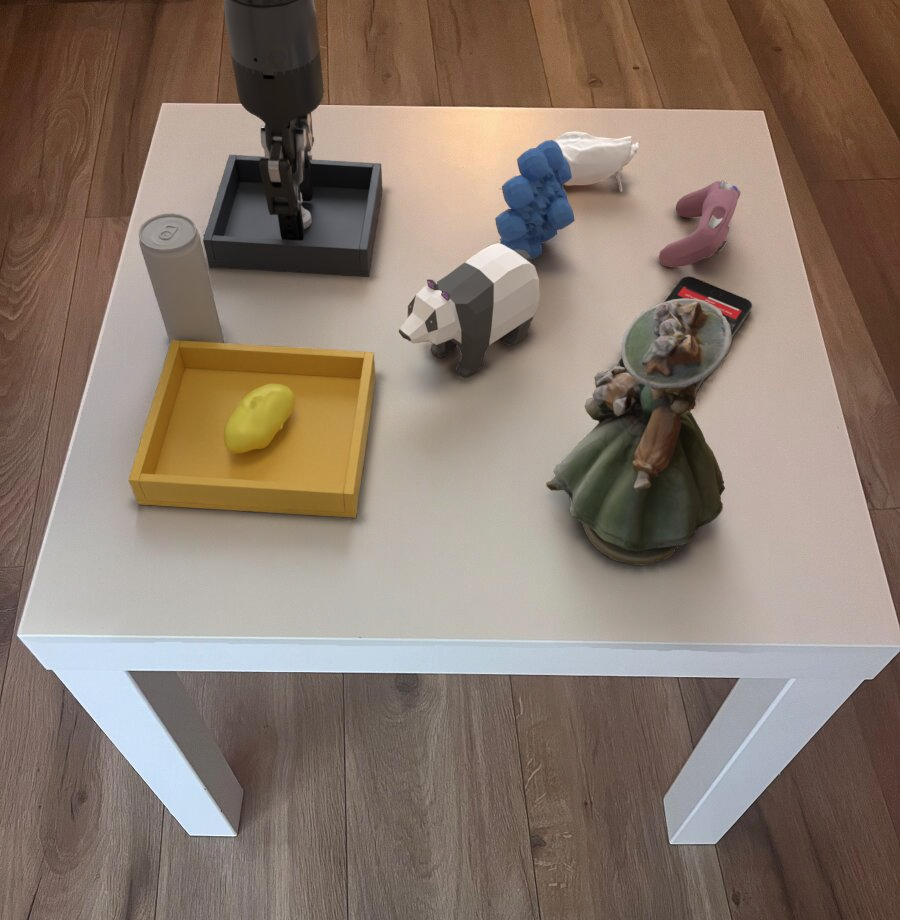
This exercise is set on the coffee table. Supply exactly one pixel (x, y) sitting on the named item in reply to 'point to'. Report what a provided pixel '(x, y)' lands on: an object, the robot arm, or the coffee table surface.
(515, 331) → the giant panda
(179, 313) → the beverage can
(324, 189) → the charcoal tray
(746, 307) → the smartphone
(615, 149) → the bird figurine
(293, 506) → the yellow tray
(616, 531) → the figurine
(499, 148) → the coffee table surface
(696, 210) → the video game controller
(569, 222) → the grapes
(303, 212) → the chess pawn
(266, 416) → the yellow oblong lump
